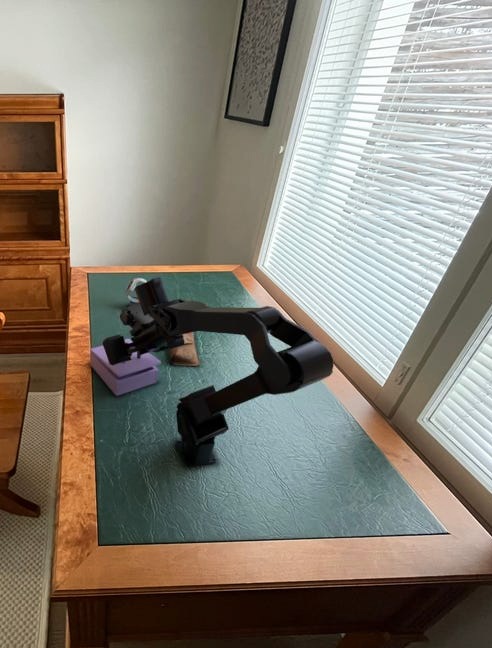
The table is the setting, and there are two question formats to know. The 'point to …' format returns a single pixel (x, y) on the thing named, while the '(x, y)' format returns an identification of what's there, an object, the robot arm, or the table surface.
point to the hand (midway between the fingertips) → (128, 351)
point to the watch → (131, 287)
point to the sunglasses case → (185, 352)
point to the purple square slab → (129, 366)
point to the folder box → (124, 377)
